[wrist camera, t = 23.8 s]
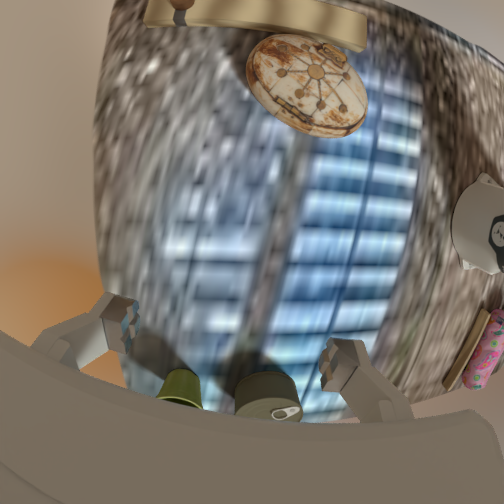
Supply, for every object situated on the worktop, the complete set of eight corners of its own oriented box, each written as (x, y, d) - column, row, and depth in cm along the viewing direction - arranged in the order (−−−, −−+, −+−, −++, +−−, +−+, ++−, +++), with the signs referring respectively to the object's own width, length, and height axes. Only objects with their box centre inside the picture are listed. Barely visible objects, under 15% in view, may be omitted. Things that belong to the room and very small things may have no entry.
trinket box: (353, 143, 35) (380, 142, 27) (243, 135, 34) (245, 129, 26) (352, 56, 30) (377, 39, 23) (246, 43, 29) (248, 18, 22)
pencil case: (486, 306, 47) (509, 325, 38) (503, 304, 47) (525, 320, 39) (453, 376, 54) (470, 397, 45) (473, 369, 54) (488, 388, 46)
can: (222, 382, 47) (221, 410, 40) (283, 360, 46) (289, 388, 39) (250, 416, 51) (252, 441, 44) (304, 397, 50) (311, 423, 43)
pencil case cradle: (505, 306, 47) (512, 312, 45) (470, 376, 55) (475, 382, 52) (481, 308, 46) (488, 314, 43) (442, 384, 54) (447, 391, 51)
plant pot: (155, 358, 44) (143, 393, 36) (208, 362, 45) (204, 399, 37) (162, 393, 47) (154, 426, 39) (210, 397, 48) (207, 432, 40)
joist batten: (360, 22, 28) (366, 16, 25) (359, 52, 30) (366, 47, 27) (156, -3, 25) (152, -10, 23) (147, 28, 27) (142, 21, 25)
